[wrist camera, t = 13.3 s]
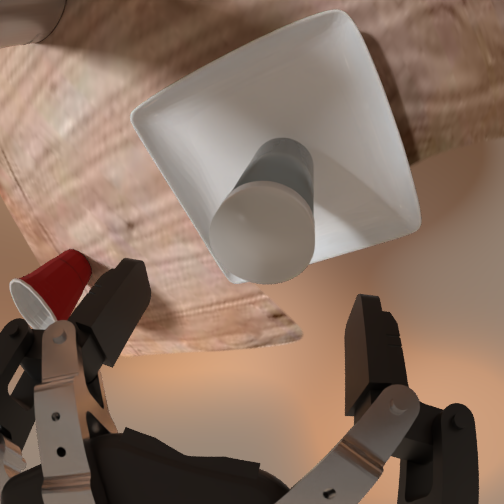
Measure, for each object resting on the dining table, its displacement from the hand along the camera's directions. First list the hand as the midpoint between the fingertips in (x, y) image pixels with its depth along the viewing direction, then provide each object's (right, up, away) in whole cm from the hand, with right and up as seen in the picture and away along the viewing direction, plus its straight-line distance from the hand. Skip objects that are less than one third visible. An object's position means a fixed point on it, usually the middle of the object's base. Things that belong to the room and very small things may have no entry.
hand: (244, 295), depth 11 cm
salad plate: (+3, +11, +16) cm, 20 cm away
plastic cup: (-27, 0, +30) cm, 40 cm away
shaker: (+3, +9, +13) cm, 16 cm away
